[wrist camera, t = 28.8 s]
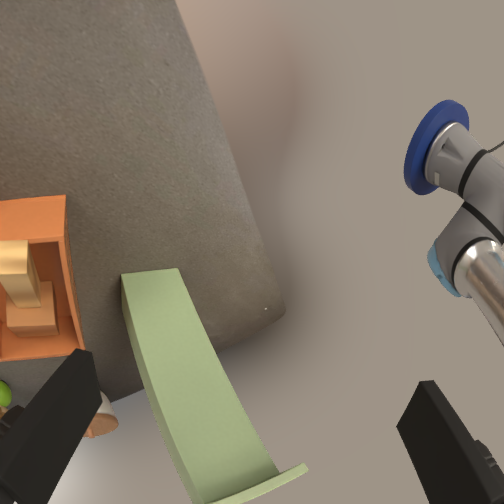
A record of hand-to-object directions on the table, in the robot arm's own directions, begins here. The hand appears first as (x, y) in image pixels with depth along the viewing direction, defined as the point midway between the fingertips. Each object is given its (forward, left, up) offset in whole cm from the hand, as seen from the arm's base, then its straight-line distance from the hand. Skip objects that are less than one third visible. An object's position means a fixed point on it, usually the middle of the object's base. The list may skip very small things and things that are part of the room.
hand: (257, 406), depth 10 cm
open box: (+20, +5, -26) cm, 33 cm away
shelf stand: (+9, +18, -26) cm, 33 cm away
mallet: (+18, +4, -22) cm, 28 cm away
